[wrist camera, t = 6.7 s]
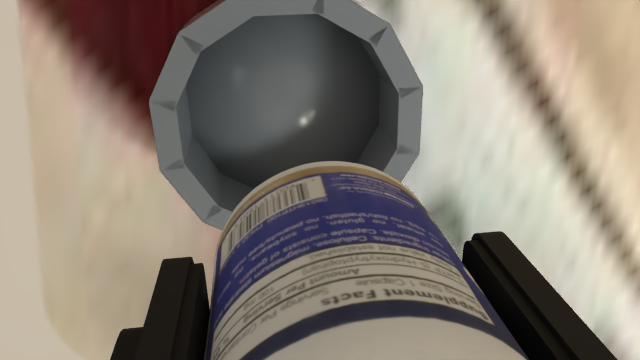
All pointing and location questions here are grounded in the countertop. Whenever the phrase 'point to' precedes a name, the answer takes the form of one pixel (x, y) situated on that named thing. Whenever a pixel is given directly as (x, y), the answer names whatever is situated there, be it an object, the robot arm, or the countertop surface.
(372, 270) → the pill bottle
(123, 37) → the countertop surface
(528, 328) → the robot arm
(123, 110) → the countertop surface
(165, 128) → the grey faceted bowl
